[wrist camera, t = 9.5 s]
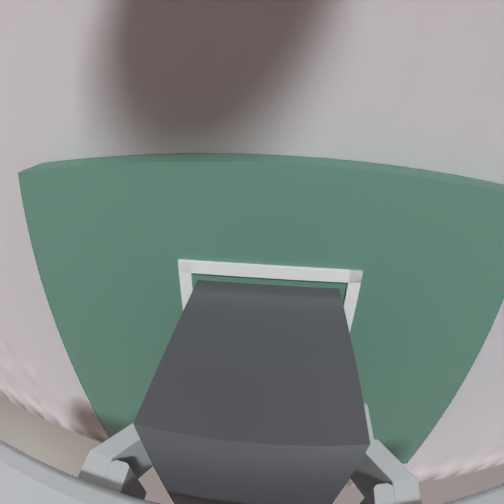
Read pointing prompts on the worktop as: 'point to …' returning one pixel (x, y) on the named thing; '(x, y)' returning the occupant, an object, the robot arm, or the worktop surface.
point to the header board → (270, 266)
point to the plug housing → (256, 398)
